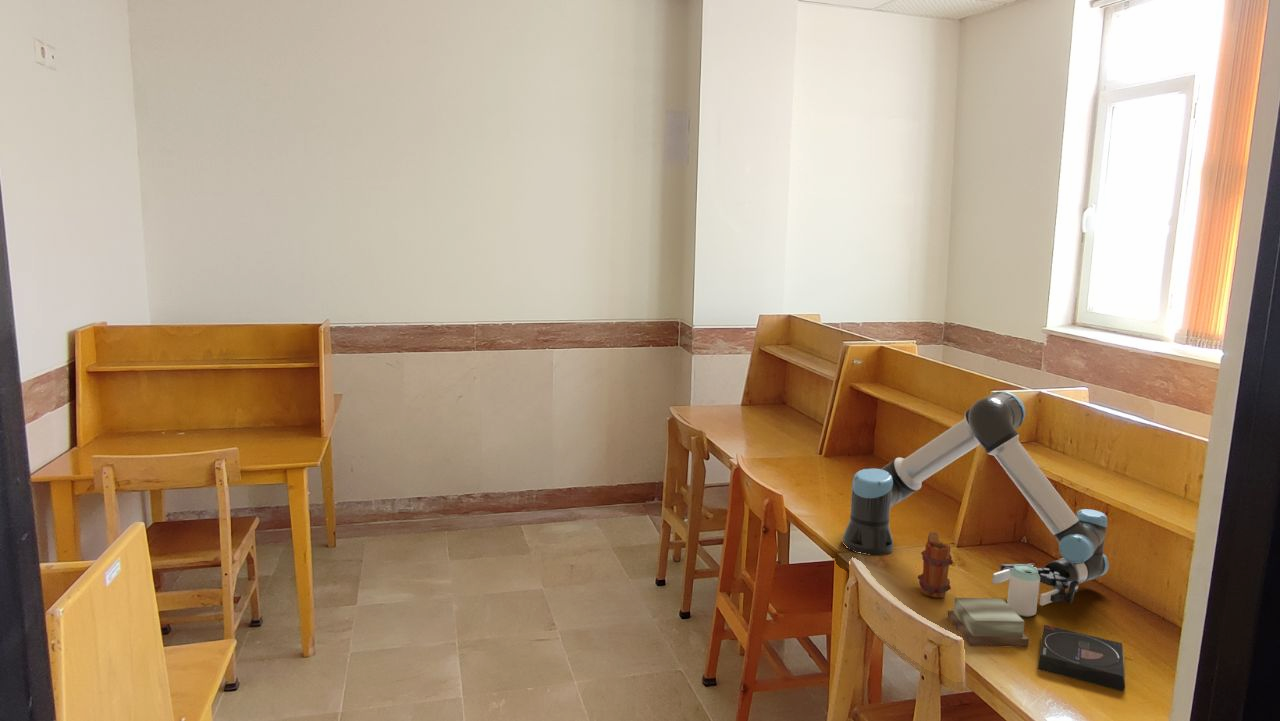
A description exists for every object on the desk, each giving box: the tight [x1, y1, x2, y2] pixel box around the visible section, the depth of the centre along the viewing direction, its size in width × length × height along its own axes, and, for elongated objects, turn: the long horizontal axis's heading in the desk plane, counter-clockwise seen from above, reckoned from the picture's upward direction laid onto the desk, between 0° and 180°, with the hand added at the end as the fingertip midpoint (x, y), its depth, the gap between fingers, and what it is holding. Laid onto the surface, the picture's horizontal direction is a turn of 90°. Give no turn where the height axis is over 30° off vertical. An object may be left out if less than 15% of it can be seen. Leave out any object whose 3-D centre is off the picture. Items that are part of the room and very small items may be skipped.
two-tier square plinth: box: [946, 597, 1030, 648], centre depth 202 cm, size 14×14×6 cm
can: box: [1006, 563, 1041, 618], centre depth 213 cm, size 7×7×12 cm
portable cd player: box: [1037, 624, 1126, 692], centre depth 189 cm, size 16×17×4 cm
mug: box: [917, 531, 954, 598], centre depth 224 cm, size 15×8×15 cm, turn 168°
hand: (1016, 589), depth 211 cm, fingers open, 13 cm apart
